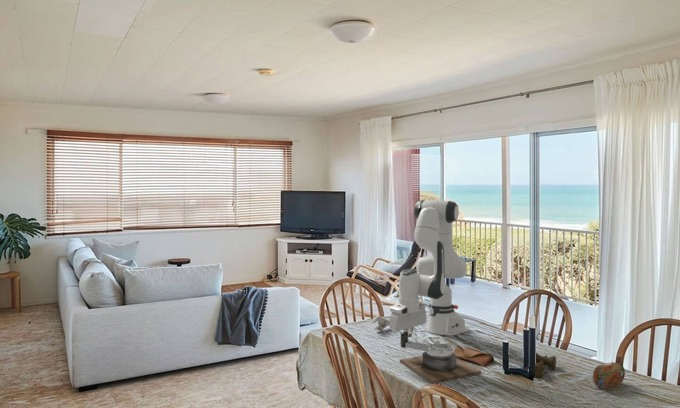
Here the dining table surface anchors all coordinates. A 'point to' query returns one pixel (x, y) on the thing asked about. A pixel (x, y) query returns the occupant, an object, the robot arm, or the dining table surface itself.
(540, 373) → the kendama
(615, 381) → the mottled orange oval
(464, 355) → the sunglasses case
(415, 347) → the grey crank handle
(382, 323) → the wrench
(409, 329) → the robot arm
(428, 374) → the square wooden board
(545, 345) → the dining table surface
